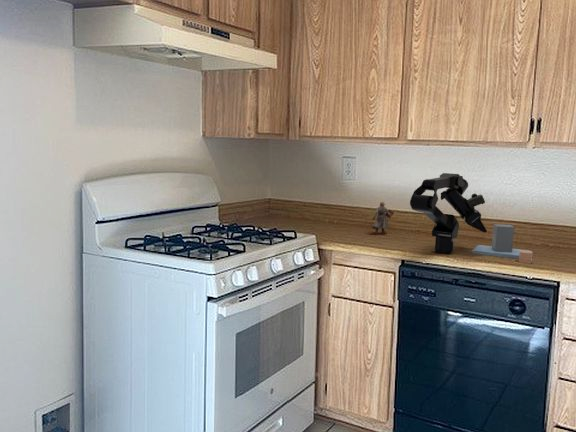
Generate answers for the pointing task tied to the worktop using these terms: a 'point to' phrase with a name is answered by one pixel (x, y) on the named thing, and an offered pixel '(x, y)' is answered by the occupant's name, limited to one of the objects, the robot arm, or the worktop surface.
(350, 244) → the worktop surface
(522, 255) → the exposed block
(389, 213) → the figurine
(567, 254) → the worktop surface
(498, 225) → the tall gray block
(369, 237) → the worktop surface
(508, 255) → the board
